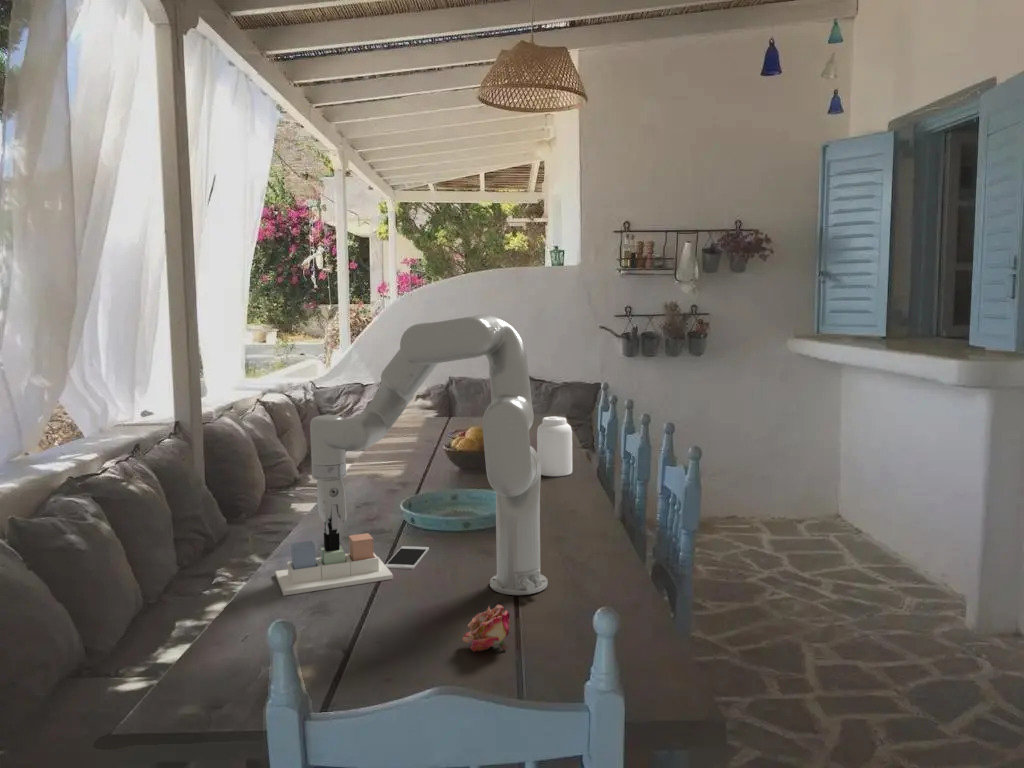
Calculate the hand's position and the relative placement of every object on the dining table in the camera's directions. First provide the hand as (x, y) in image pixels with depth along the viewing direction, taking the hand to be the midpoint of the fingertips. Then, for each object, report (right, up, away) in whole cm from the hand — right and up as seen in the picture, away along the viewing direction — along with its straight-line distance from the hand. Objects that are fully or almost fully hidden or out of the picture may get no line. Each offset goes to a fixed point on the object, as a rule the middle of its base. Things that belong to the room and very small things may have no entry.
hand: (332, 549), depth 184 cm
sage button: (0, -5, 0) cm, 5 cm away
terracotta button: (+6, -3, +3) cm, 7 cm away
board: (0, -6, +1) cm, 6 cm away
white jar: (+56, +6, +104) cm, 118 cm away
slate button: (-6, -3, -2) cm, 7 cm away
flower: (+36, -10, -38) cm, 54 cm away
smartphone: (+15, -5, +14) cm, 21 cm away
